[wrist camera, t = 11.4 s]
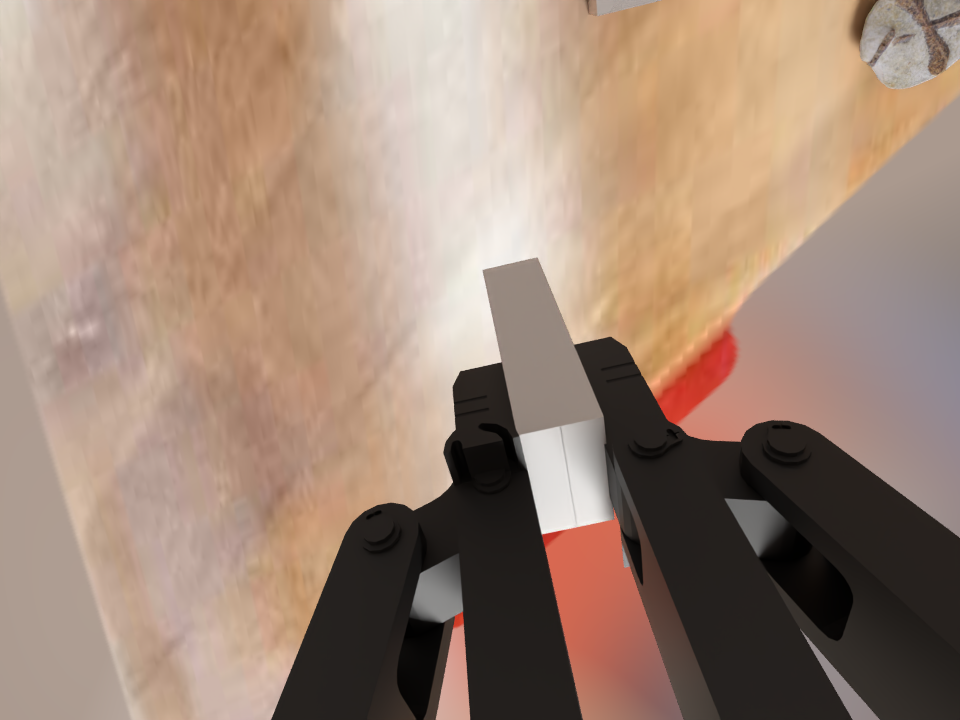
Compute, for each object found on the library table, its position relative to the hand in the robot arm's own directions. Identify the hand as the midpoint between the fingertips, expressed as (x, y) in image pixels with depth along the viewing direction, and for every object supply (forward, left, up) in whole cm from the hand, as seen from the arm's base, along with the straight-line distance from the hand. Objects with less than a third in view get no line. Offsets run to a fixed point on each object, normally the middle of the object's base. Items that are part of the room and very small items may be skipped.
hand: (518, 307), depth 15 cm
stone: (0, +31, -27) cm, 41 cm away
